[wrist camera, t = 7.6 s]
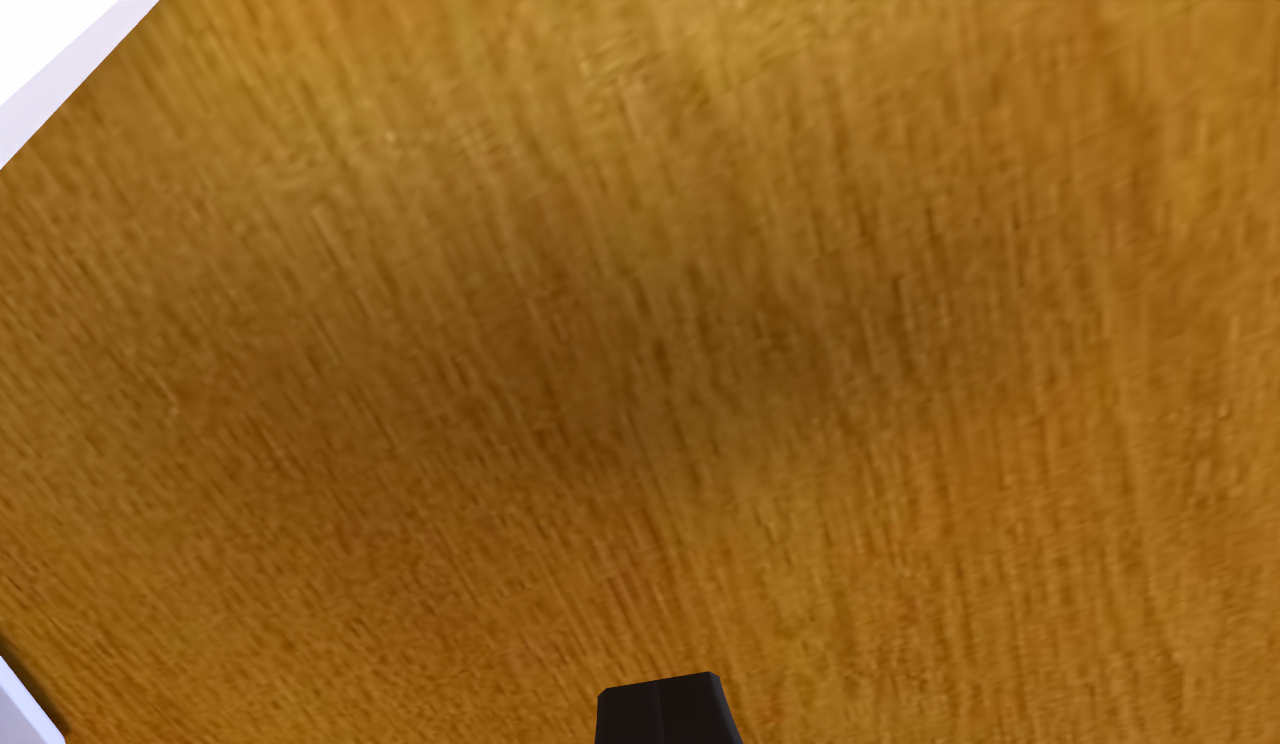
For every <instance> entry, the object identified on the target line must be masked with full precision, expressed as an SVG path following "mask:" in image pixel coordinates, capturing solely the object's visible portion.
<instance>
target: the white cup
mask: <svg viewBox="0 0 1280 744" xmlns="http://www.w3.org/2000/svg"><path fill="white" fill-rule="evenodd" d="M158 1H159V0H0V169H1V168H2V167H3V166H4V165H5V164H6V163H7V162H8V161H9V160H10V159H11V158H12V157H13V155H14V154H15V153H16V152H17V151H18V150H19V149H20V148H21V147H22V146H23V145H24V144H25V143H26V142H27V141H28V139H29V138H30V137H31V136H32V135H33V134H34V133H35V132H36V131H37V130H38V129H39V128H40V127H41V126H42V125H43V123H44V122H45V121H46V120H47V119H48V118H49V117H50V116H51V115H52V114H53V113H54V112H55V111H56V110H57V109H58V108H59V106H60V105H61V104H62V103H63V102H64V101H65V100H66V99H67V98H68V97H69V96H70V95H71V94H72V93H73V92H74V90H75V89H76V88H77V87H78V86H79V85H80V84H81V83H82V82H83V81H84V80H85V79H86V78H87V77H88V76H89V74H90V73H91V72H92V71H93V70H94V69H95V68H96V67H97V66H98V65H99V64H100V63H101V62H102V61H103V60H104V59H105V57H106V56H107V55H108V54H109V53H110V52H111V51H112V50H113V49H114V48H115V47H116V46H117V45H118V44H119V43H120V41H121V40H122V39H123V38H124V37H125V36H126V35H127V34H128V33H129V32H130V31H131V30H132V29H133V28H134V27H135V26H136V24H137V23H138V22H139V21H140V20H141V19H142V18H143V17H144V16H145V15H146V14H147V13H148V12H149V11H150V10H151V8H152V7H153V6H154V5H155V4H156V3H157V2H158Z"/></svg>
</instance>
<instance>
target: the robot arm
mask: <svg viewBox="0 0 1280 744" xmlns="http://www.w3.org/2000/svg"><path fill="white" fill-rule="evenodd" d="M65 743H66V742H65V740H64V737H63V736H62V734H61V733H60V732H59V730H58V729H57V728H56V727H55V725H54V724H53V723H52V721H51V720H50V719H49V718H48V716H47V715H46V714H45V712H44V711H43V710H42V709H41V707H40V706H39V705H38V703H37V702H36V701H35V700H34V698H33V697H32V696H31V694H30V693H29V692H28V690H27V689H26V688H25V687H24V685H23V684H22V683H21V681H20V680H19V679H18V678H17V676H16V675H15V674H14V672H13V671H12V670H11V669H10V667H9V666H8V665H7V663H6V662H5V661H4V660H3V658H2V657H1V656H0V744H65ZM595 744H743V742H742V739H741V737H740V735H739V732H738V730H737V728H736V725H735V723H734V720H733V718H732V715H731V712H730V709H729V707H728V704H727V701H726V698H725V695H724V692H723V689H722V686H721V682H720V678H719V676H717V675H715V674H713V673H711V672H709V671H708V672H702V673H696V674H690V675H684V676H678V677H672V678H666V679H660V680H654V681H648V682H642V683H636V684H630V685H624V686H618V687H612V688H606V689H605V690H604V691H603V692H602V693H601V694H600V695H599V696H598V704H597V725H596V735H595Z"/></svg>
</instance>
